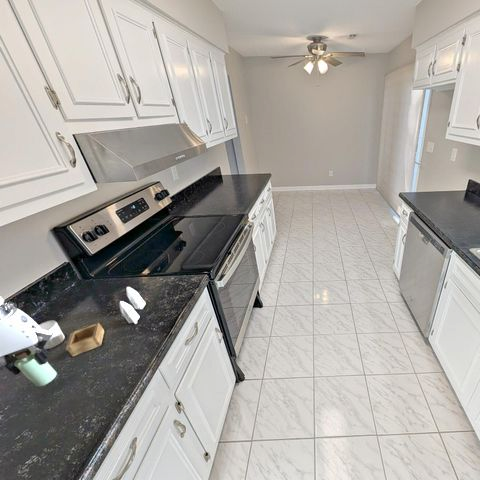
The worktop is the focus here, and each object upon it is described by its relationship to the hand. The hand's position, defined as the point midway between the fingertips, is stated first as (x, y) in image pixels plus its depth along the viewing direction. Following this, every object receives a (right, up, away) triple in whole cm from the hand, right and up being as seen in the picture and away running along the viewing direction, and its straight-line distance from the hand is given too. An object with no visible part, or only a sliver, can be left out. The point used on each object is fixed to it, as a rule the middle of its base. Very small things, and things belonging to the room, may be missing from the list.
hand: (32, 364), depth 68 cm
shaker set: (+7, +5, +30) cm, 31 cm away
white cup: (-15, -2, +20) cm, 25 cm away
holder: (-1, -2, +18) cm, 18 cm away
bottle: (0, -5, +3) cm, 6 cm away
